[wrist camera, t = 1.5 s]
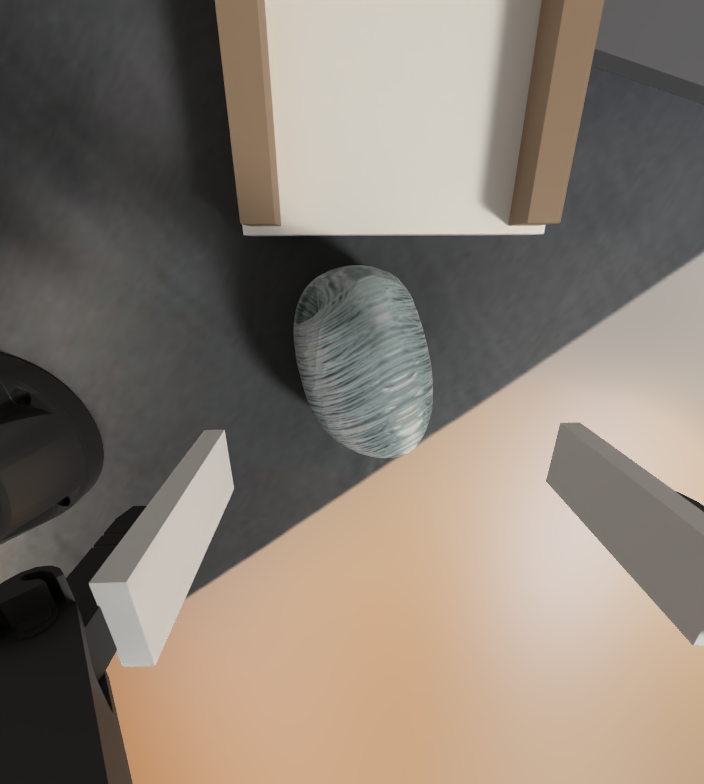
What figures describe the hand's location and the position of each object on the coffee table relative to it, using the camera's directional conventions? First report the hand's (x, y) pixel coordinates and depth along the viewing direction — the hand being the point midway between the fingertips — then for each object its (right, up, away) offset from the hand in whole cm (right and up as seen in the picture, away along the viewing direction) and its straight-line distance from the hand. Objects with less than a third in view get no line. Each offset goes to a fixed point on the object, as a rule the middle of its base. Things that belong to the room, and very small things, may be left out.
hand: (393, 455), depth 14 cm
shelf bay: (+1, +21, +8) cm, 23 cm away
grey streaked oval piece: (-1, +6, +15) cm, 16 cm away
